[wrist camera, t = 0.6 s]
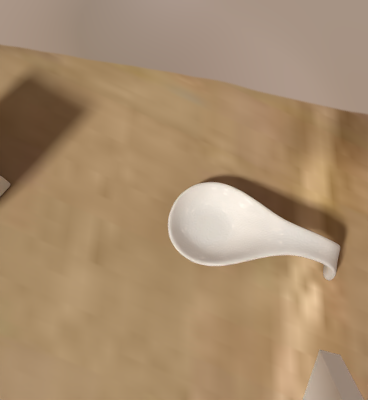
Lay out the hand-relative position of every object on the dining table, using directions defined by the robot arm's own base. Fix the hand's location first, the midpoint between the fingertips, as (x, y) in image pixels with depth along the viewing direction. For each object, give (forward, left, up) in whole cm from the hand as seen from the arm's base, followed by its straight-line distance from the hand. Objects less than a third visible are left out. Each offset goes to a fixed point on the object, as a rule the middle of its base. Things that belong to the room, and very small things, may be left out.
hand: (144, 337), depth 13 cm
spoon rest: (+6, -14, -34) cm, 37 cm away
